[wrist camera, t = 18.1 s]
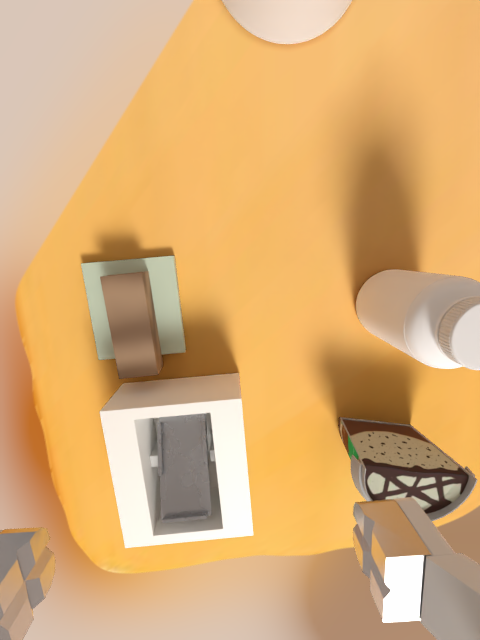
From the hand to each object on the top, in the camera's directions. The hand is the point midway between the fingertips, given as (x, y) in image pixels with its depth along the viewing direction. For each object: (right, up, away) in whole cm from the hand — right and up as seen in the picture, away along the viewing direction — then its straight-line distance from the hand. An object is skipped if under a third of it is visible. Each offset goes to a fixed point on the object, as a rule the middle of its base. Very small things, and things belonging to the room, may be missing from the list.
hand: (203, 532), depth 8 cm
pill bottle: (+18, +8, +29) cm, 35 cm away
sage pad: (-11, +7, +28) cm, 31 cm away
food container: (+18, -10, +33) cm, 38 cm away
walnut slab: (-11, +5, +27) cm, 30 cm away
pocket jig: (-5, -9, +31) cm, 33 cm away
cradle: (-5, -10, +28) cm, 30 cm away
